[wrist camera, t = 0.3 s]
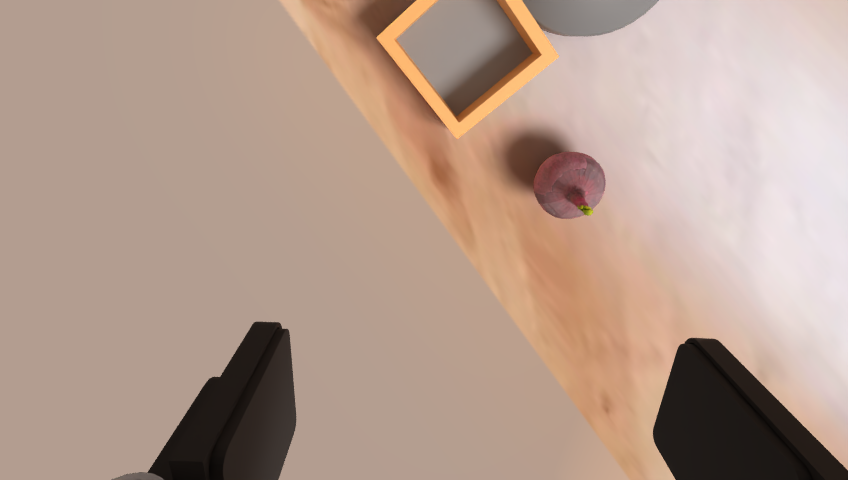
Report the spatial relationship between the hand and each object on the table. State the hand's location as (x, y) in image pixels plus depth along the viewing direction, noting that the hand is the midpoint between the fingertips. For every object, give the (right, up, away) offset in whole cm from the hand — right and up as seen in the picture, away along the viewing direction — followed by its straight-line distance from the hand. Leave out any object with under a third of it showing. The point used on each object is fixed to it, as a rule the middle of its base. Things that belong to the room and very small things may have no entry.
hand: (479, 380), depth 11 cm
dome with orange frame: (+8, +25, +28) cm, 38 cm away
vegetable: (+12, +10, +35) cm, 38 cm away
